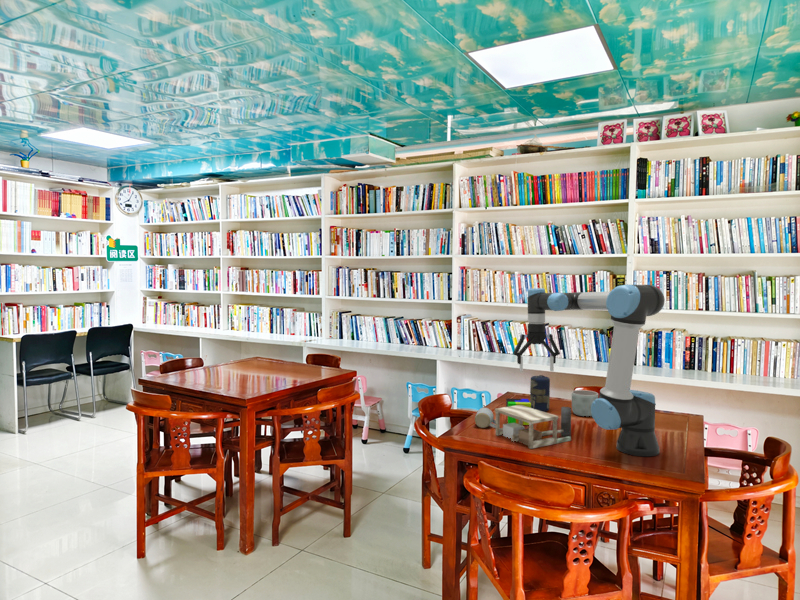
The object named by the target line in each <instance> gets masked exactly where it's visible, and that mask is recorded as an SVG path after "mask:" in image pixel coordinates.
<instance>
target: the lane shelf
mask: <svg viewBox="0 0 800 600" xmlns="http://www.w3.org/2000/svg"><path fill="white" fill-rule="evenodd" d="M494 413H495V420H496V424H495V425H496V428H495V436H497V437H499V436H503V435H502V434H503V427H501V425H500V424H501V420H500V419H501V416H500V415H504V416H506V415H507V416H510V417H513V418H515V419H518V420H519V425H522V426H523V421H524V422H527V423H529V426H528V428H529V446H528V449H529V450H532V449H537V448H543V447H546V446H552V445H556V444H560V443H565V442H570V441H572V436H571V437H569V436H568V437H558V433H557V430H558V420H559V416H558V415H556V414H553V413H549V412H547V411H539V410H536V409H533V408H530V407H526V406H523V405H516V406H509V407H506V406H504V407H499V408H494ZM549 421H552V430H544V431H541V432H542V433H546V432H551V431H553V434H552V436H551V437H546V438H542V439H541V440H536V441H533V429H534V424H539V423H543V422H544V423H545V422H549ZM500 427H501V428H500ZM512 441H513V442H512ZM514 441H516V442H519V434H516V435H512V439H511V442H512V443H515V442H514Z"/></svg>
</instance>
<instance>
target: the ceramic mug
mask: <svg viewBox="0 0 800 600" xmlns="http://www.w3.org/2000/svg"><path fill="white" fill-rule="evenodd" d="M474 423H475V424H476V426H477V427H478V428H482V429H486V428H488V427H490V428H491V427H492V428H493V429H496V419H494V413H493V411H492V410H491V409H489V408H488V407H481V408H480V409H478V410H477V412H476V414H475V416H474Z"/></svg>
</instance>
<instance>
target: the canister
mask: <svg viewBox="0 0 800 600" xmlns="http://www.w3.org/2000/svg"><path fill="white" fill-rule="evenodd" d="M529 383H530V387H529V393H530V395H529V401H530V403H531V408H533V409H536V410H539V411H543V412H548V411H549V410H550V398H551V397H550V395H551V390H550V389H551V388H550V387H551V386H550V385H551V379H550V377H548V376H545V375H543V374H539V375H534V376H533V375H532V376H531V377H530V382H529Z"/></svg>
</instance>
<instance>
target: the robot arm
mask: <svg viewBox="0 0 800 600" xmlns="http://www.w3.org/2000/svg"><path fill="white" fill-rule="evenodd" d="M526 298H527V322H528V323H527V334H525V333H524V334H523V333H520V336H519V337H520V338H519V340H518V342H517V344H516V346H515V348H514V351H513V352H512V355H514V356H516V358H517V364H518V365H519V372H521V373H523V372H524V369H523V368H524V367H523V366H524V364H523V363H524V357H523V356H522V355H523V354H524V353H525V352H526V350H527V349H528V348H529V347H530V346H531V345H541V344H542V345H543V347H544V348H545V349H546V350H547V351H548V352H549V354H550V355H549V371H550V372H554V365H555V364H557V363H556V361H557V356H559V355H561V353H560V350H559V348H558V346H557V344H556V342H555V340H554V337H553V334H552V333H548V334H546V324H545V323H546V311H554V312H559V311H560V312H562V311H578V310H579V311H582V310H584V311H587V310H588V311H590V310H591V311H599V310H600V311H607V312H608V314H609V315H610V321H611V322H612V324H613V330H612V338H611V343H610V344H611V345H610V351H609V357H608V364H607V365H608V366H607V370H606V378H605V385H604V386H603V387H602V388H601V389H600V390H599V394H598V398H597V399H596V400H595V401H593V403H592V405H591V414H592V416H591V417H592V419H593V420H594V422H595V424H597V425H598V427H599V428H601V429H604V430H609V431H610V430H614V431H615V430H619V429H621V430H620V431H619V432H620V433H619V435H618V437H617V440H616V450H618V451H619V452H621V453H624V454H627V455H631V456H636V457H655V456H658V455H659V454H660V446H659V442H658V439H657V436H656V432H655V431H656V406H657V405H656V396H655V395H654V394H653V393H652V392H647V391H642V390H636V389H631V386H632V380H633V374H634V373H633V372H634V367H635V361H636V355H637V347H638V341H639V334H640V329H641V328H642V327H644V326H646V322H647V321H646V319H647V317H651V316H655V315H656V314H659V312H661V311H662V309H663V307H664V305H665V302H666V301H665V296H664V293H663V291H662V290H661V289H660V288H658V287H657V286H655V285H652V284H629V283H627V284H623V285H622V284H621V285H618V286H615V287H614V288H613V289H611V290H610V291H588V292H586V291H583V292H581V291H580V292H579V291H578V292H546V289H545V288H537V287H536V288H529V289H528V290H527V297H526ZM546 338H547V339H548V341H549V343H550V345H551V346H552V348H551V347H550V345H549V344H547V342H546V341H545V339H546ZM526 339H527V341H526V342H525V344H524V345H523V343H524V340H526ZM522 345H523V346H522ZM521 347H522V348H521Z"/></svg>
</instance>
